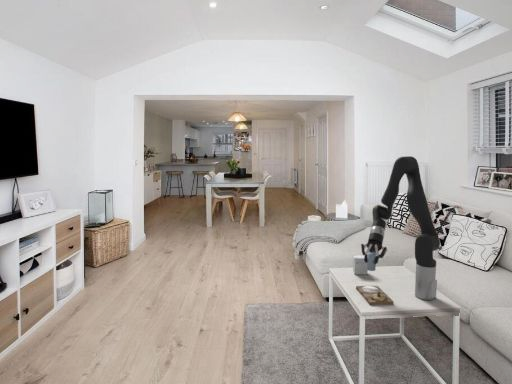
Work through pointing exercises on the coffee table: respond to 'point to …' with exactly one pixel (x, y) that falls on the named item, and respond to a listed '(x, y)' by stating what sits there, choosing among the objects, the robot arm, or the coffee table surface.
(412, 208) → the robot arm
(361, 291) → the gear board
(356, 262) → the small box
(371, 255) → the blue-grey cylinder
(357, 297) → the coffee table surface
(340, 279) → the coffee table surface
